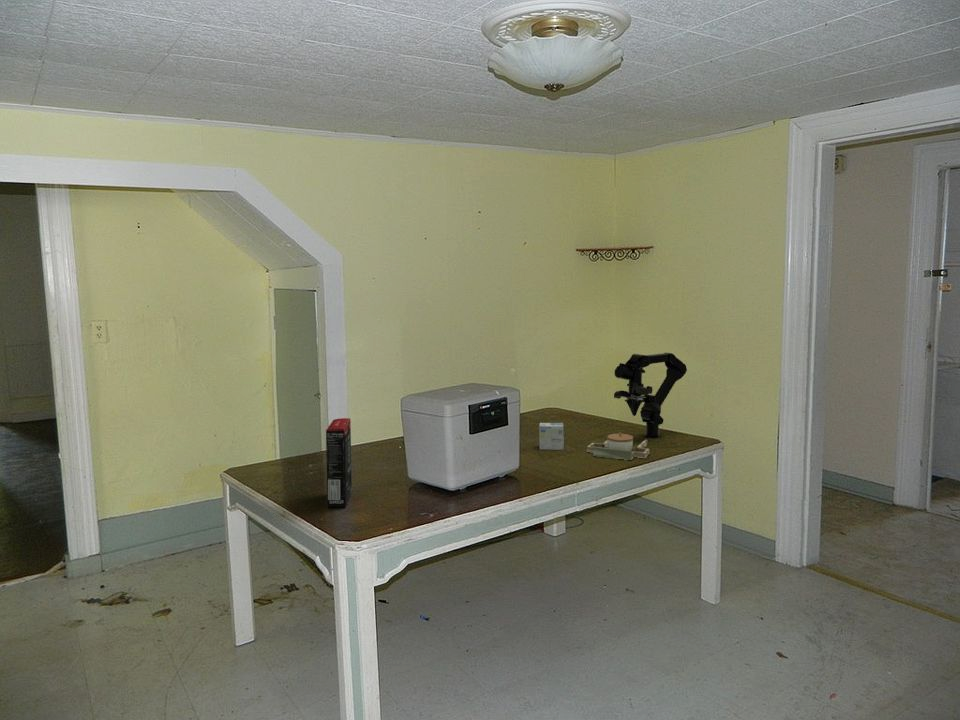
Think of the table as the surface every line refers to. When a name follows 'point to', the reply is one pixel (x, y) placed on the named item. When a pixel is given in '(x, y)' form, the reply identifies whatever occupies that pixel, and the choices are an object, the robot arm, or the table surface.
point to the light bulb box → (551, 436)
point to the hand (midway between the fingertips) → (634, 415)
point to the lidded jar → (620, 441)
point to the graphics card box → (338, 462)
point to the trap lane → (618, 451)
